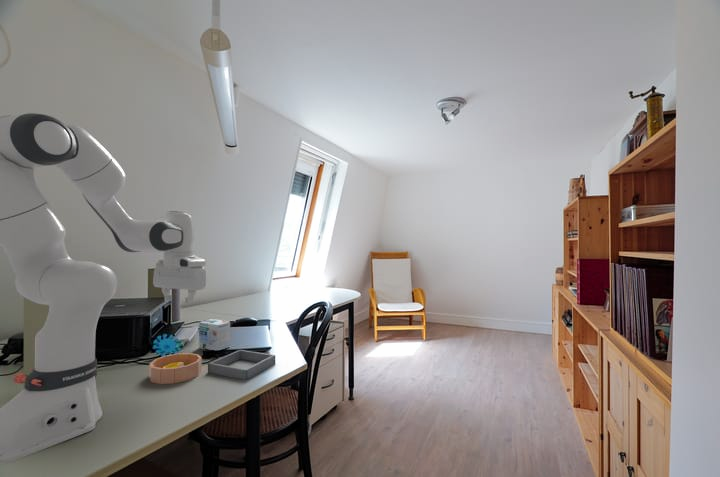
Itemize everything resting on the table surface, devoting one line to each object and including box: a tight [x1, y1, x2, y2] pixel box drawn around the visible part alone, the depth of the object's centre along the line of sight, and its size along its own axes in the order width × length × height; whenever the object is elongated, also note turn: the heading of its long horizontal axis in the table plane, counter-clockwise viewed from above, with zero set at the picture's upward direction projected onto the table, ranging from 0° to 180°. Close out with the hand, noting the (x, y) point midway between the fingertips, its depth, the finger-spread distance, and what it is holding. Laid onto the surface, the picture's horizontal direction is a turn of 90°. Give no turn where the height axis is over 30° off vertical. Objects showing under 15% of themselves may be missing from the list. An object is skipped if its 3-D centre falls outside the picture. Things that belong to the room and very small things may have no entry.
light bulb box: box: [198, 318, 231, 350], centre depth 142 cm, size 11×7×11 cm, turn 65°
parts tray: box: [207, 349, 276, 381], centre depth 120 cm, size 16×16×3 cm
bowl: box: [148, 352, 203, 385], centre depth 114 cm, size 15×15×4 cm
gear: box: [152, 333, 184, 358], centre depth 133 cm, size 11×6×10 cm
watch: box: [163, 362, 184, 368], centre depth 115 cm, size 6×3×6 cm
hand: (178, 302), depth 116 cm, fingers open, 8 cm apart
